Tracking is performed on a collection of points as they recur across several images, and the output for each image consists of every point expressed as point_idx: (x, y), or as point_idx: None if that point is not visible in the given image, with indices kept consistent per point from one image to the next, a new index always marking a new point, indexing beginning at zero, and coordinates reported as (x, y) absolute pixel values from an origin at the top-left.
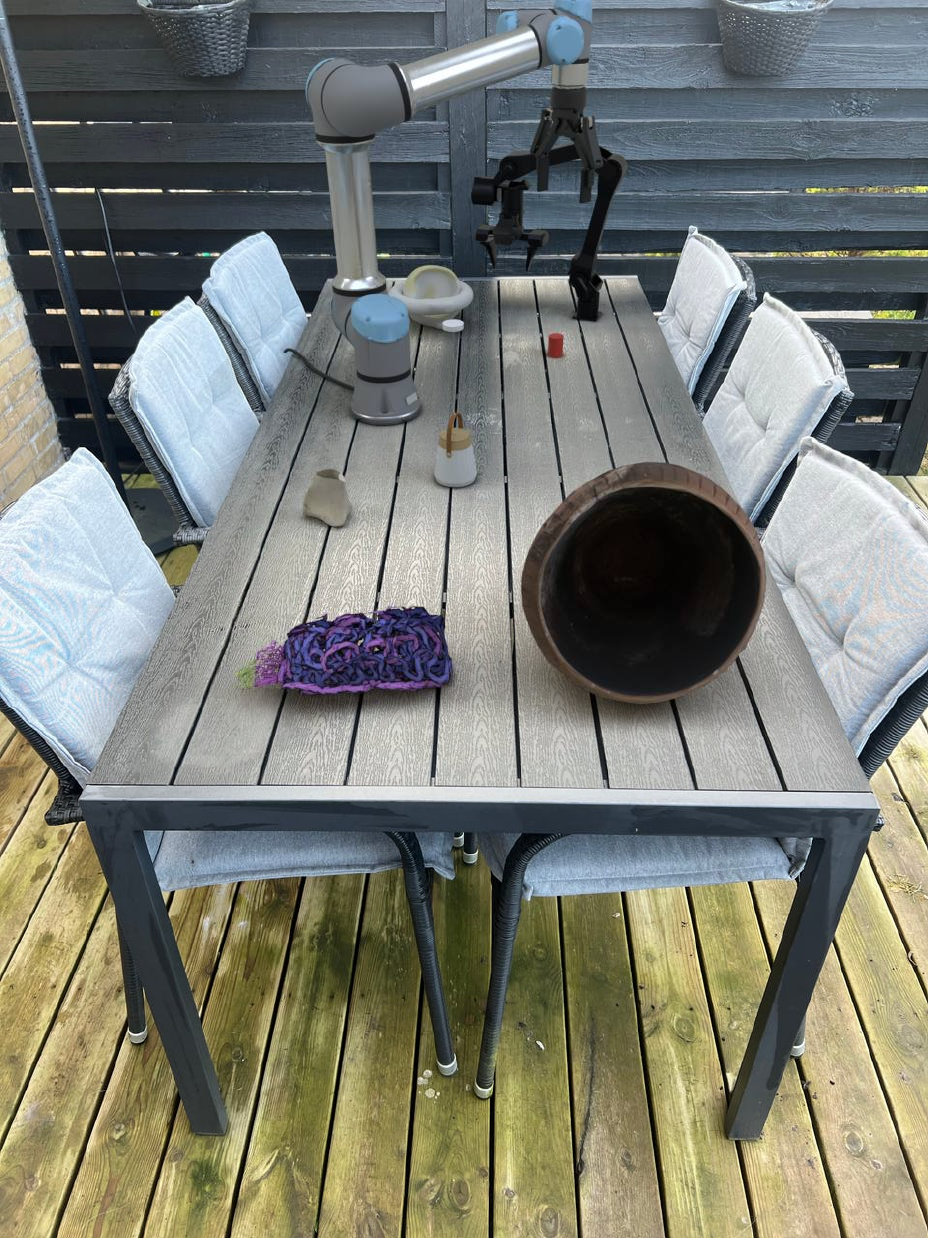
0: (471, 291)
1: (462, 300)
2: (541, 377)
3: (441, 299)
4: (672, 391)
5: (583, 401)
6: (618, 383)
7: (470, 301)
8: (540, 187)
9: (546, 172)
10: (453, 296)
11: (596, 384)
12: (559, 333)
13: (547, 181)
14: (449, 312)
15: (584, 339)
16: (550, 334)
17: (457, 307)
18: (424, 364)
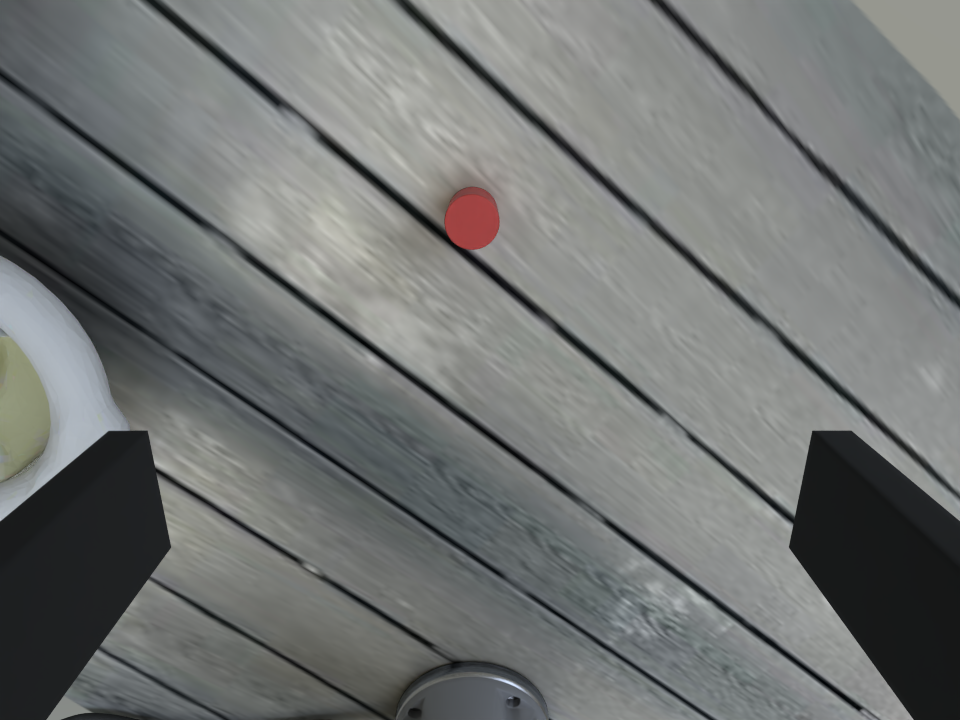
0: (9, 286)
1: (84, 368)
2: (573, 362)
3: (74, 453)
4: (939, 129)
5: (768, 383)
6: (770, 218)
7: (68, 312)
8: (150, 559)
9: (32, 591)
10: (50, 390)
11: (724, 276)
12: (462, 196)
13: (103, 496)
14: (129, 427)
15: (429, 16)
16: (449, 229)
17: (108, 389)
18: (296, 535)
